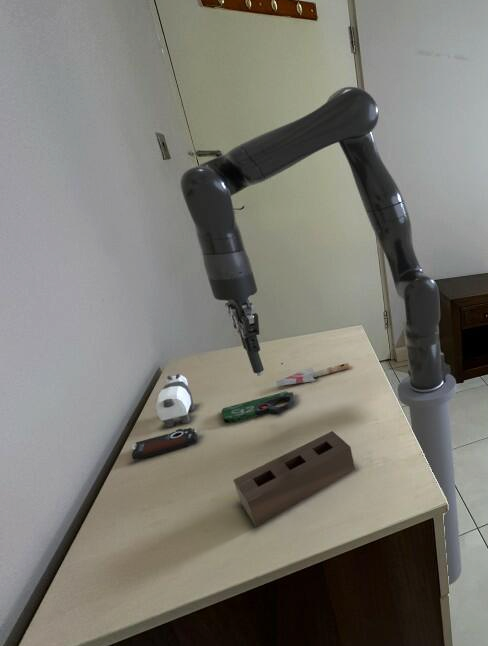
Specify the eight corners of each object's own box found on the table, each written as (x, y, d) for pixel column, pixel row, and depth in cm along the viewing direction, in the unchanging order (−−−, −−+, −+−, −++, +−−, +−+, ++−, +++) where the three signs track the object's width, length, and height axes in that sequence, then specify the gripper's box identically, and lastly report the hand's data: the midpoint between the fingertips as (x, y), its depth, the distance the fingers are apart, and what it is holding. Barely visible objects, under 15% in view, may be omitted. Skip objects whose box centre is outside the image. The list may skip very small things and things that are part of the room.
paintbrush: (274, 376, 115) (346, 359, 126) (276, 384, 116) (347, 367, 127) (276, 381, 112) (349, 364, 123) (278, 390, 113) (350, 371, 124)
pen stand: (241, 503, 76) (232, 479, 74) (337, 452, 89) (332, 430, 87) (256, 527, 71) (247, 502, 69) (355, 469, 84) (350, 446, 82)
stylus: (263, 371, 90) (247, 323, 85) (266, 374, 88) (250, 325, 84) (253, 375, 88) (237, 326, 84) (256, 378, 87) (240, 328, 82)
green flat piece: (221, 426, 96) (221, 406, 103) (223, 431, 96) (223, 411, 104) (296, 405, 104) (291, 388, 112) (297, 409, 105) (292, 392, 112)
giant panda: (190, 424, 99) (178, 391, 95) (162, 431, 97) (148, 397, 93) (199, 396, 111) (189, 366, 107) (174, 401, 108) (163, 371, 105)
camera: (136, 437, 90) (196, 422, 96) (139, 448, 91) (199, 432, 97) (129, 451, 85) (193, 434, 91) (134, 462, 86) (196, 444, 92)
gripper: (262, 275, 78) (282, 353, 84) (240, 263, 86) (260, 336, 93) (217, 283, 73) (242, 366, 79) (199, 270, 81) (223, 346, 88)
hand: (252, 349), depth 86 cm, fingers closed on stylus, 2 cm apart
